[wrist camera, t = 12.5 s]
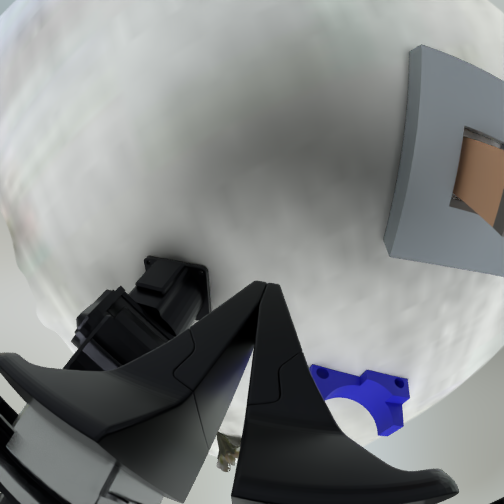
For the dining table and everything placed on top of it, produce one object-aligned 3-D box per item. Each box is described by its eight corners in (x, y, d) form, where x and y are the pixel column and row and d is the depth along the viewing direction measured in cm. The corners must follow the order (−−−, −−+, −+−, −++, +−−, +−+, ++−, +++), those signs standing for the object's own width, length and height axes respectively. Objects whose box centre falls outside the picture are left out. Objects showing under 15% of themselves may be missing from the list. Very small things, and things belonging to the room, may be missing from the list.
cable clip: (407, 377, 26) (412, 420, 21) (386, 396, 28) (387, 436, 23) (318, 355, 26) (313, 403, 21) (302, 376, 29) (294, 420, 24)
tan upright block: (483, 198, 15) (541, 248, 8) (444, 186, 15) (501, 236, 9) (493, 149, 13) (561, 181, 6) (454, 133, 13) (521, 157, 7)
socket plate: (496, 261, 16) (508, 277, 14) (383, 239, 19) (389, 256, 17) (531, 108, 9) (549, 112, 7) (409, 51, 12) (421, 44, 9)
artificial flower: (207, 387, 38) (205, 446, 29) (257, 432, 49) (260, 473, 40) (160, 394, 39) (153, 447, 30) (219, 438, 50) (219, 476, 42)
